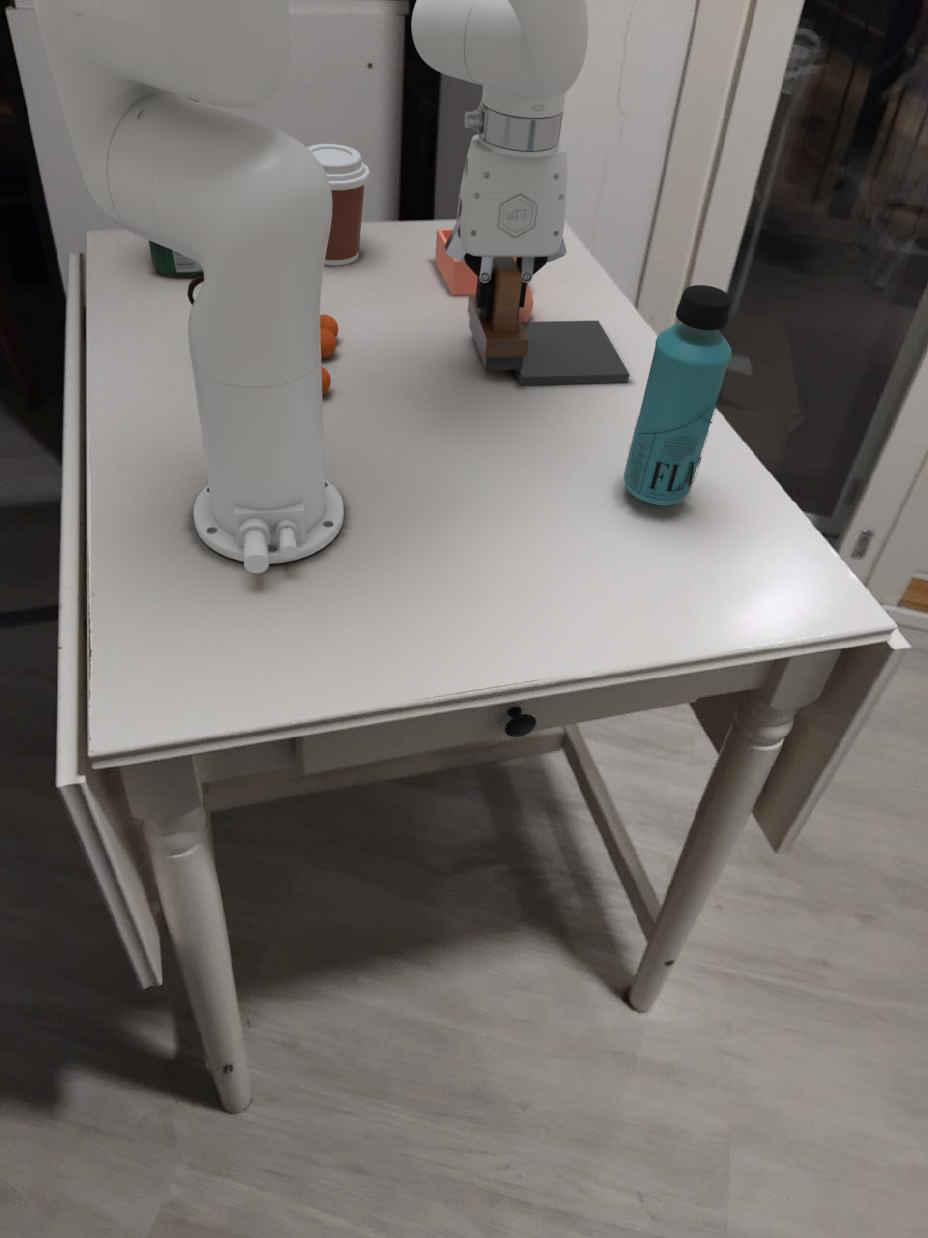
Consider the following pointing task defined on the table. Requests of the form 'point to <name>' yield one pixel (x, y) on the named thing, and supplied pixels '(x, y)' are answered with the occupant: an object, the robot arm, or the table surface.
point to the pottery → (466, 274)
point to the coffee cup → (343, 199)
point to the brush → (501, 320)
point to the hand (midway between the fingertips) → (498, 311)
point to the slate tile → (569, 354)
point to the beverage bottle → (680, 398)
